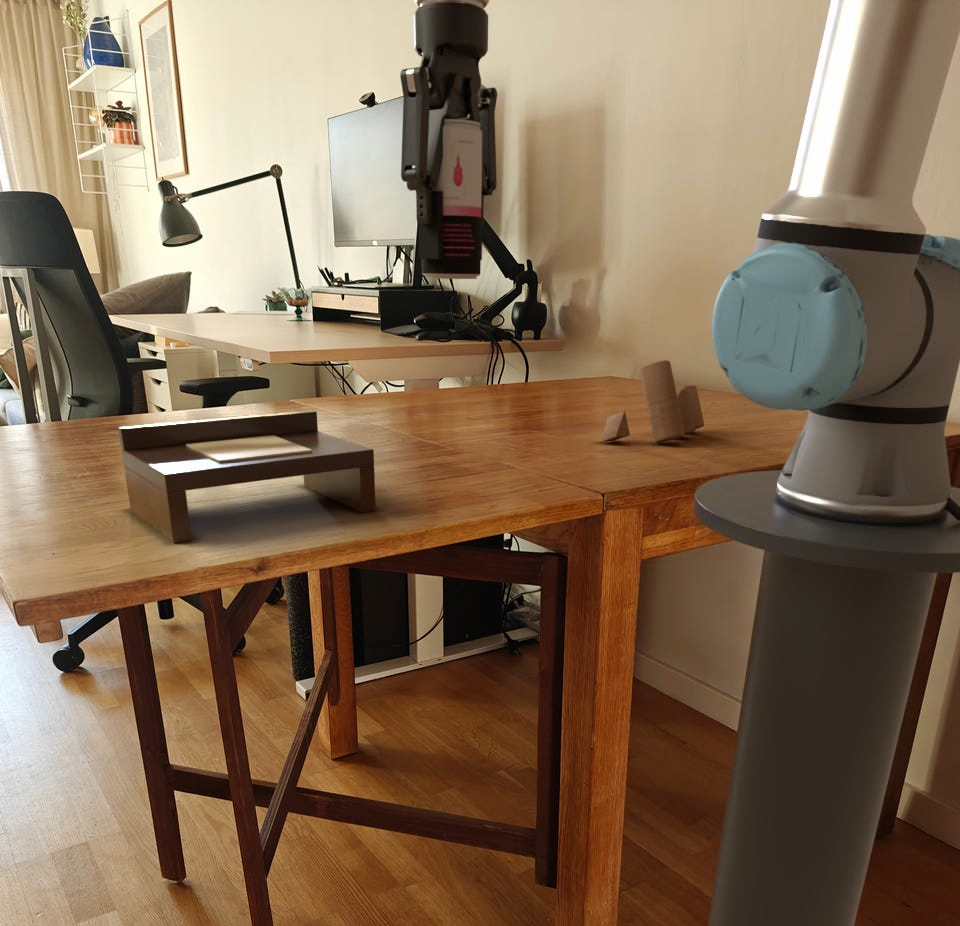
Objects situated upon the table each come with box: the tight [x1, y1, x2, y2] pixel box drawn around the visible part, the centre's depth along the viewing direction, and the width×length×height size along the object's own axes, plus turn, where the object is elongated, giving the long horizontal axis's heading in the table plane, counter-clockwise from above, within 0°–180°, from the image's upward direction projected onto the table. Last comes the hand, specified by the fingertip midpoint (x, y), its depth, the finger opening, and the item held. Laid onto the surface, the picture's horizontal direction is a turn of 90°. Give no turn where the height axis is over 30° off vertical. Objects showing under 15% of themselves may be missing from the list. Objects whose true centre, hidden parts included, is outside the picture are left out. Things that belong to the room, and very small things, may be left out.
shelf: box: [117, 409, 377, 544], centre depth 83 cm, size 13×20×8 cm, turn 126°
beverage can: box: [421, 119, 482, 280], centre depth 93 cm, size 7×6×15 cm
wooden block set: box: [599, 360, 705, 444], centre depth 121 cm, size 18×9×10 cm, turn 131°
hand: (451, 259), depth 96 cm, fingers closed on beverage can, 6 cm apart
